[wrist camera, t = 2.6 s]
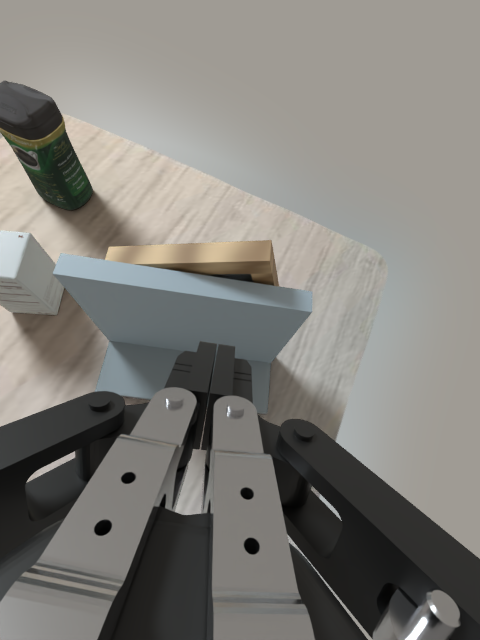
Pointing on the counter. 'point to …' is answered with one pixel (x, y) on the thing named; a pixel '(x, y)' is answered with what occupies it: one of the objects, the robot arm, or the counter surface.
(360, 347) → the counter surface
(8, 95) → the coffee jar
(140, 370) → the bookend
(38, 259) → the supplement box
